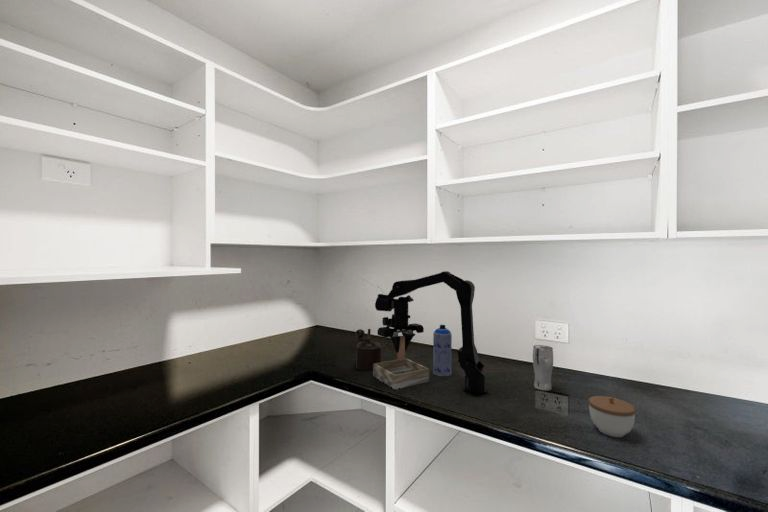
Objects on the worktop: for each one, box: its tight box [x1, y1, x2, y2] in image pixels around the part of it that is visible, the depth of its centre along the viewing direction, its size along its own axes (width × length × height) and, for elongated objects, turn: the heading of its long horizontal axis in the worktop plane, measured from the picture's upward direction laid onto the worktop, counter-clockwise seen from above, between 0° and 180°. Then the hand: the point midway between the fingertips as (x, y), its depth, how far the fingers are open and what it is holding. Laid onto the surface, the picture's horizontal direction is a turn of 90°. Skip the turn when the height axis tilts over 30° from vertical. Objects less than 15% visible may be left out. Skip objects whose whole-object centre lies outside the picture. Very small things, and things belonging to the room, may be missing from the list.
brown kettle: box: [354, 328, 382, 371], centre depth 145 cm, size 16×11×18 cm
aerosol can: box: [432, 324, 453, 377], centre depth 139 cm, size 8×8×20 cm
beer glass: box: [532, 344, 554, 392], centre depth 124 cm, size 7×7×15 cm
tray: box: [372, 357, 430, 390], centre depth 132 cm, size 16×16×5 cm
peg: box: [396, 335, 406, 361], centre depth 132 cm, size 3×3×9 cm
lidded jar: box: [588, 395, 636, 438], centre depth 92 cm, size 11×11×9 cm
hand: (400, 351), depth 132 cm, fingers closed on peg, 3 cm apart
